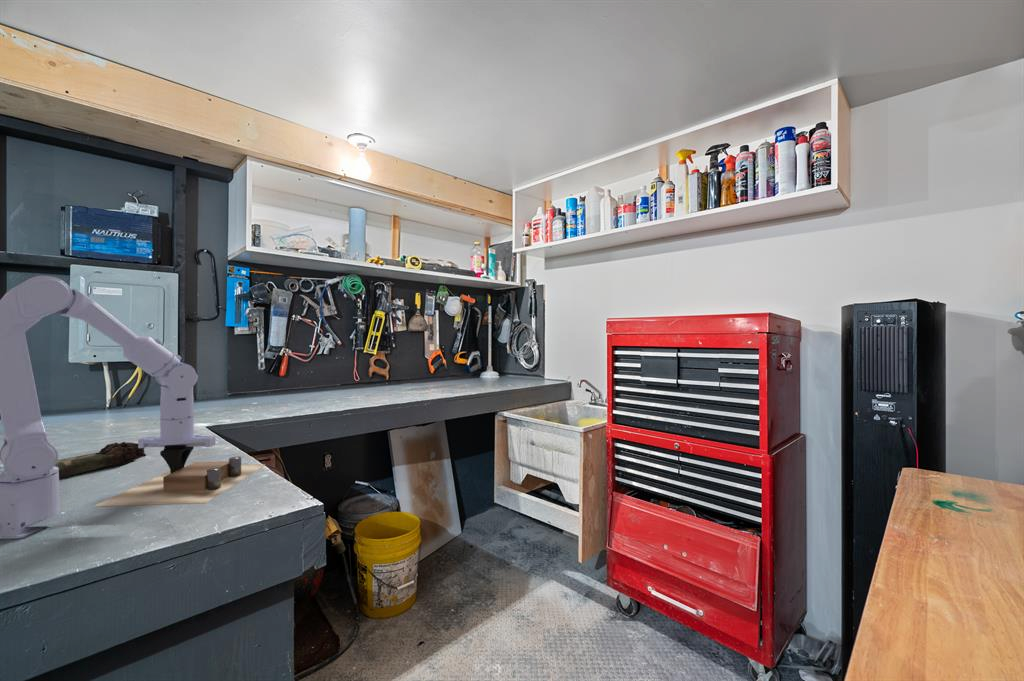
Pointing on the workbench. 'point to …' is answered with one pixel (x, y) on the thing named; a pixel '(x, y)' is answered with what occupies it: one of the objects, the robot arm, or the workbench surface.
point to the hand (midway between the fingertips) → (177, 479)
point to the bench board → (156, 495)
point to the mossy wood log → (100, 459)
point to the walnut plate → (193, 476)
